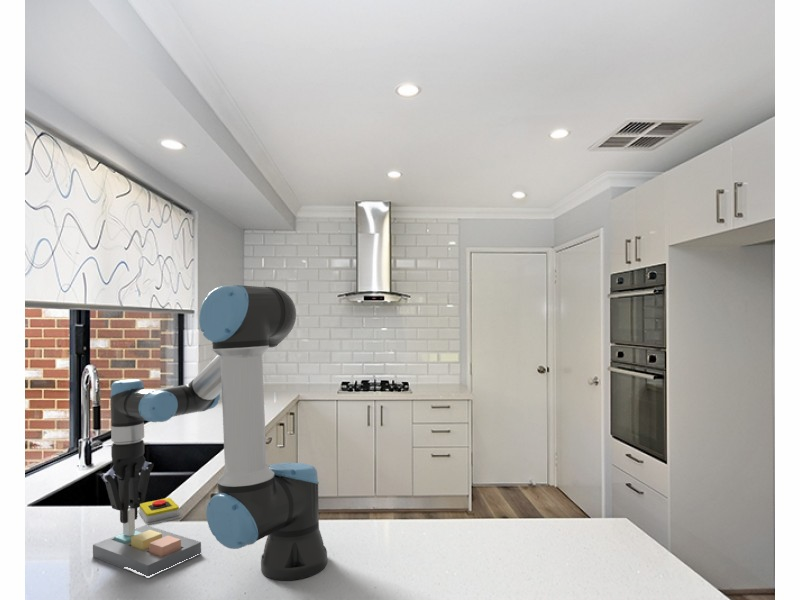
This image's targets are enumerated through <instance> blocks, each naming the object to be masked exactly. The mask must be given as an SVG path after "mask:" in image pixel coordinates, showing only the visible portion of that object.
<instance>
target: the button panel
mask: <svg viewBox="0 0 800 600" xmlns="http://www.w3.org/2000/svg"><path fill="white" fill-rule="evenodd" d="M148 530H153V531H156V532H159V533H162V538H163V537H165V536H172V537H175V538H178V539H181V549H180V550H177V551H175V552H173V553H170V554H168V555H166V556H163V557H159V556H156V555H154V554H151V553H149V548H148V549H145V550H143V551H142V550H139V549H137V548H134V547H131V542H129V543H126V544H123V543H120V542H117V541H114V537H115V536H112V537H110V538H107V539H105V540H101V541H99V542H96V543H94V544H92V557H93V558H95V559H97V560H100V561H102V562H105V563H107V564H110V565H113V566H114V567H118V568H120V569H122V568H124V567H128V568H131V569H133V570H136V571H137V572H140V573H142V574H144V575H146V576H150V575H152V574H155V573H157V572H159V571H161V570H164V569H166V568H169V567H171V566H173V565H175V564H177V563H179V562H182V561H184V560H186V559H189V558H191V557H193V556H195V555H197V554H200V553H201V554H202V542H201V541H200V540H199V541H198V540H195V539H192V538H190V537H186V536H182V535H179V534H177V533H173V532H171V531H170V532H169V531H166V530H163V529H159V528H156V527H153V526H150V525H147V524H145V525H141V526H139V527H137V528H136V527H135V531H138V532H141V533H143V532H145V531H148ZM116 536H118V535H116Z"/></svg>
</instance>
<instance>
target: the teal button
mask: <svg viewBox="0 0 800 600" xmlns="http://www.w3.org/2000/svg"><path fill="white" fill-rule="evenodd" d="M140 533H141V532H138V531H135V534H134V535H132V536H135V535H137V534H140ZM132 536H127V535H124V534H123V533H121V534H119V535H118V536H117V535H116V536H113V537H114V541H117V542H120V543H123V544H126V543H129V542H131V537H132Z"/></svg>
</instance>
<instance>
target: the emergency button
mask: <svg viewBox="0 0 800 600" xmlns="http://www.w3.org/2000/svg"><path fill="white" fill-rule="evenodd" d="M137 514H138V515H139V516H140V517H141V518H142V520H143V521H144V523H145V525H147V526H150V525H155V524H160V523H164V522H167V521H168V522H169V521H172V520H173V521H174V520H176V519H180V518H181V517H182V516H181V514H180V507H179V505H178V504H177V503H176V502H175V501H174V500H173V499H172V498H171V497H165V498H161V499H157V500H152V501H151V500H150V501H146V502H143V503H140V507H139V508H138V509H137Z"/></svg>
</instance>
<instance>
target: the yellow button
mask: <svg viewBox="0 0 800 600" xmlns="http://www.w3.org/2000/svg"><path fill="white" fill-rule="evenodd" d="M160 538H162V533H159V532H156V531H153V530H148V531H145V532H143V533H140V534H137V535H135V536H132V537H131V547H134V548H137V549H139V550H142V551H143V550H145V549H148V548H149V543H150V542H153V541H155V540H158V539H160Z"/></svg>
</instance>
